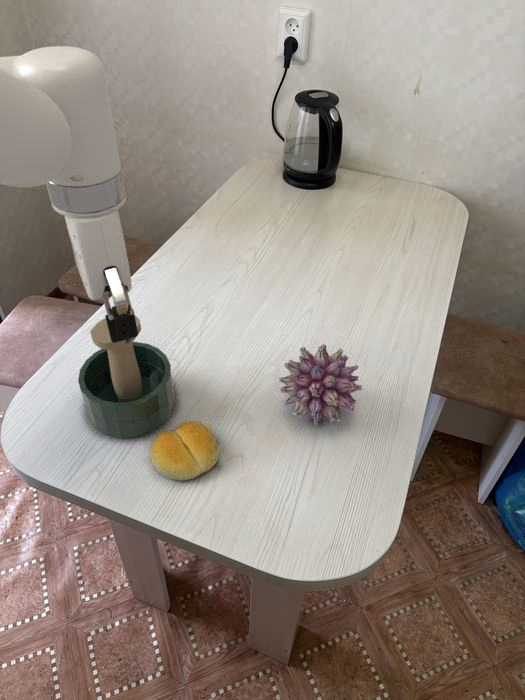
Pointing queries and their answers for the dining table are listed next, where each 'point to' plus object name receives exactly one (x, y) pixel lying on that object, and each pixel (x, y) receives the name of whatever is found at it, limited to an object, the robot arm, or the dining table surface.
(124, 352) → the handle
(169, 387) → the pot
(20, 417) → the dining table surface
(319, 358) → the flower
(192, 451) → the bread roll
